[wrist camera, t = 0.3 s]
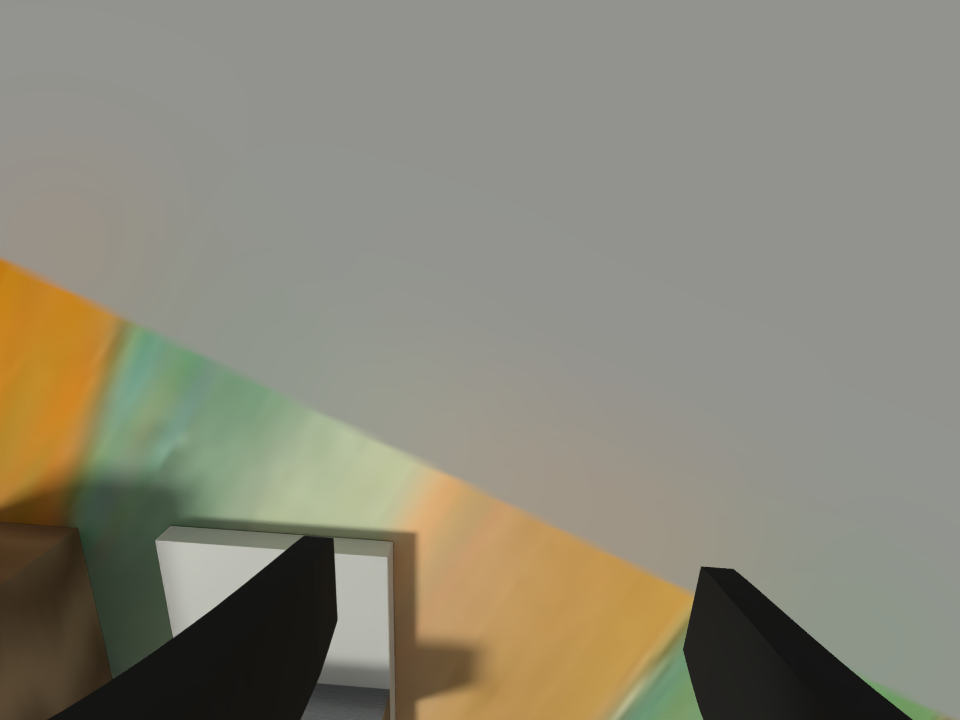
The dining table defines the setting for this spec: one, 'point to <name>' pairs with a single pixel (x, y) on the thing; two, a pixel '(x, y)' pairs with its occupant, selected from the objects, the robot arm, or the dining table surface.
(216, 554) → the fulcrum board
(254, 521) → the dining table surface
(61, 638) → the walnut beam
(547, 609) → the dining table surface
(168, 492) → the dining table surface
